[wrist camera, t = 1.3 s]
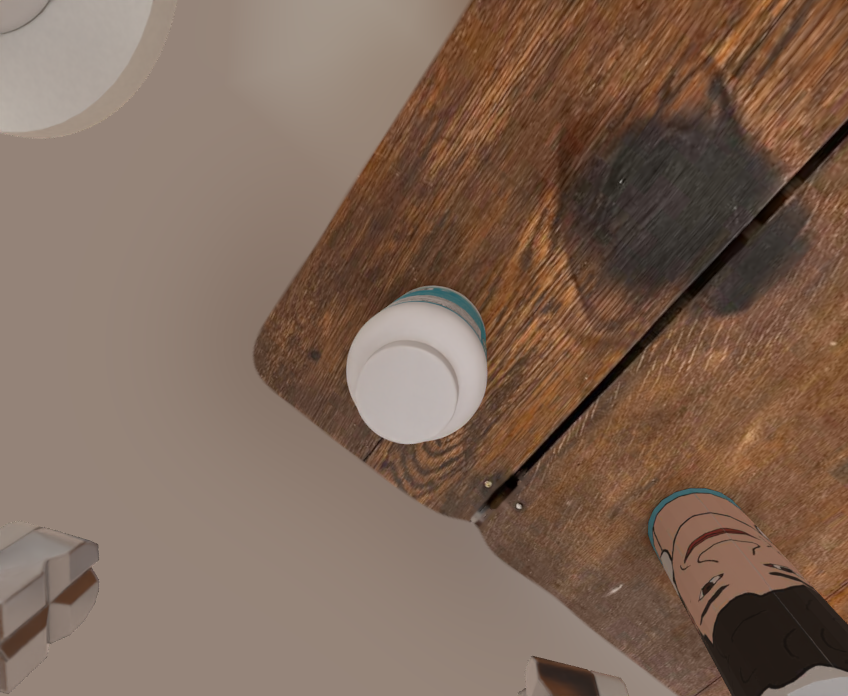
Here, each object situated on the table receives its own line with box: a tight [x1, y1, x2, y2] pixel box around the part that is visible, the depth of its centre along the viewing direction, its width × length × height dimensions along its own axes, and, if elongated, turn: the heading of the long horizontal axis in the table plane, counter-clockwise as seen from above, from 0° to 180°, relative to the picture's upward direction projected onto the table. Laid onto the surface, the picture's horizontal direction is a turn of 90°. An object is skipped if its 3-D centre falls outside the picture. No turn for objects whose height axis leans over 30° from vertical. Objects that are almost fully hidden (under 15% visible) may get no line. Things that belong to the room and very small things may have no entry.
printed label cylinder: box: [648, 488, 848, 696], centre depth 27 cm, size 7×7×15 cm
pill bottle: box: [346, 286, 487, 444], centre depth 27 cm, size 8×7×14 cm
